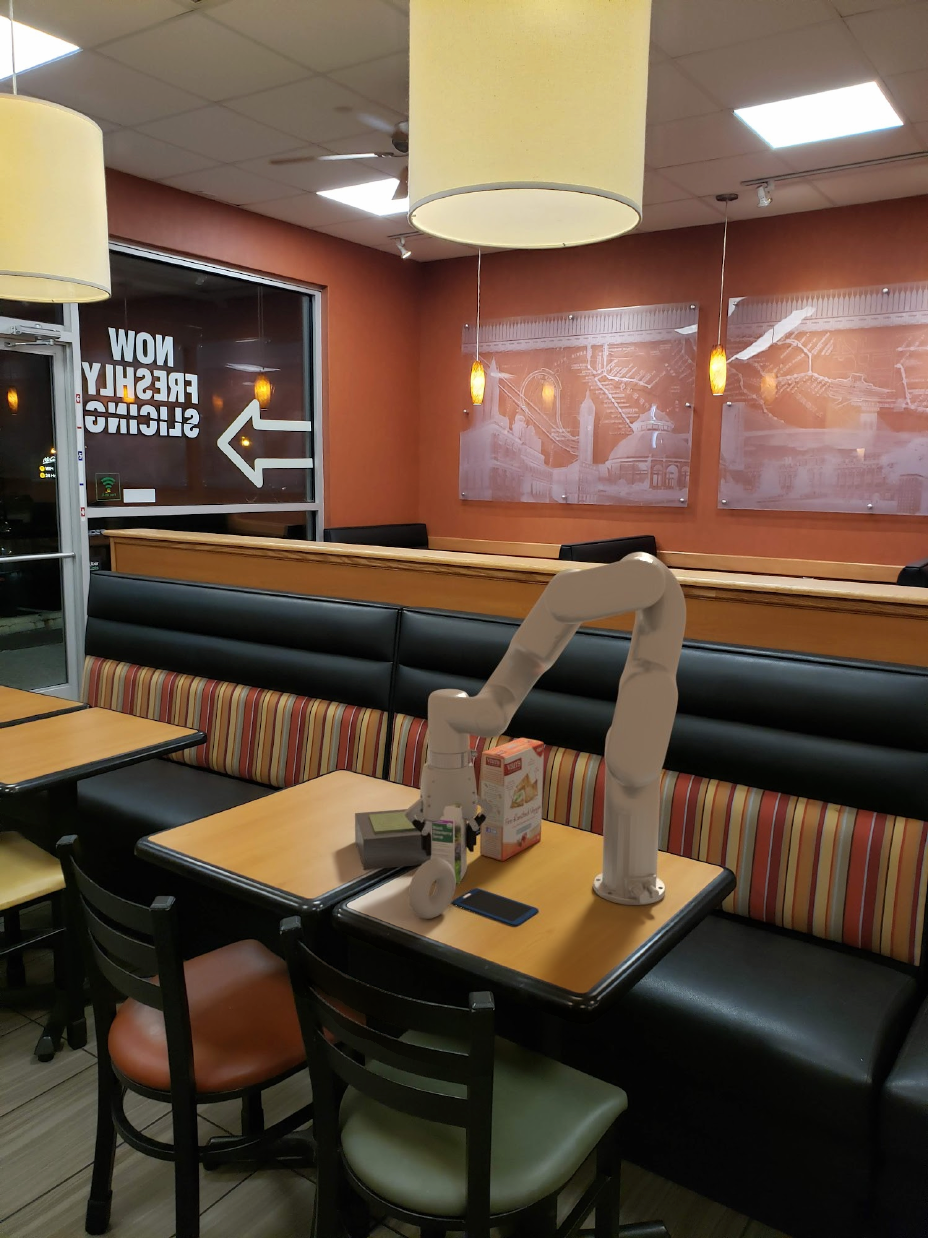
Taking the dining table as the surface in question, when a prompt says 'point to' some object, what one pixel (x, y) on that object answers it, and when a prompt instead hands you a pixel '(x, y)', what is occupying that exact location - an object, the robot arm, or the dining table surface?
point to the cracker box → (512, 797)
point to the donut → (422, 885)
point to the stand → (388, 840)
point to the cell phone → (496, 907)
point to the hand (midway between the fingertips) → (448, 850)
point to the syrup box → (451, 839)
